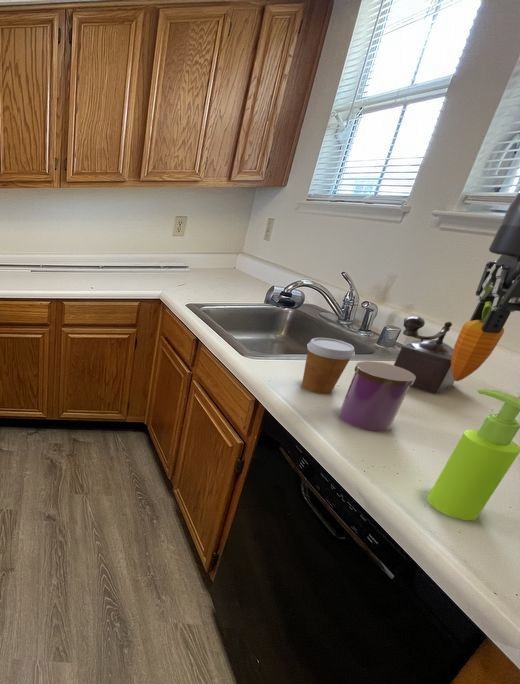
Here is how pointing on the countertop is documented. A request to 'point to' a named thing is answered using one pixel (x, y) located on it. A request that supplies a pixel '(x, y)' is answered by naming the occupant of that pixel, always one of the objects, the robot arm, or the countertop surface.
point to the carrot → (473, 346)
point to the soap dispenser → (478, 462)
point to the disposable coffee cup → (325, 364)
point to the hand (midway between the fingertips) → (483, 327)
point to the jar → (375, 395)
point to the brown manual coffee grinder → (427, 357)
